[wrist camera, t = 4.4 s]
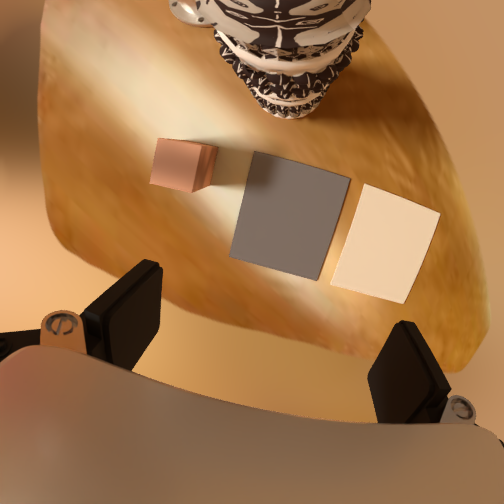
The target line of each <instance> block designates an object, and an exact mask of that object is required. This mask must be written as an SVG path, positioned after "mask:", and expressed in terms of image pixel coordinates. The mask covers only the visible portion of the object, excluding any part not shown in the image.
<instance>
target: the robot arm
mask: <svg viewBox="0 0 504 504" xmlns="http://www.w3.org/2000/svg"><path fill="white" fill-rule="evenodd" d="M169 6H170V9H171V11H172V13H173V14H174V15H175V16H176V18H178V19H179V20H180V21H181V22H184V23H186V24H188V25H192V26H196V27H213V26H212V25H211V24H210V23H209V22H208V21H207V20H206V19H205V17H204V16H203V15H202V14H201V13H200V12H199V11H198V10H197V6H196V2H195V0H169ZM202 21H203V22H202ZM162 277H163V268H162V267H159V263H158V262H154V261H151V260H147V259H144V260H142V261H141V262H140V263H139V264H137V265H136V266H135V267H134V268H132V269H131V270H130V271H129V272H128V273H126V274H125V275H124V276H123V277H122V278H120V279H119V280H118V281H117V282H116V283H115V284H113V285H112V286H111V287H110V288H109V289H107V290H106V291H105V292H104V293H103V294H102V295H100V296H99V297H98V298H97V299H96V300H95V301H93V302H92V303H91V304H90V305H89V306H88V307H87V308H86V309H85V310H84V312H82V313H81V314H80V315H78V314H76V313H74V312H71V311H67V310H66V311H65V310H60V311H55V312H52V313H50V314H48V315H47V316H45V318H44V319H43V320H42V323H41V329H36V330H26V331H16V332H5V333H0V504H504V443H503V442H502V441H501V440H500V439H498V438H497V436H496V435H495V434H494V433H492V432H491V431H489V430H487V429H485V428H482V427H480V426H478V425H477V424H475V419H476V411H475V408H474V407H473V405H472V404H471V402H470V401H469V400H467V399H466V398H464V397H462V396H459V395H454V396H451V397H450V398H449V399H448V397H447V395H448V393H449V392H450V391H451V387H450V385H449V383H448V381H447V379H446V377H445V375H444V374H443V372H442V370H441V368H440V366H439V364H438V362H437V361H436V359H435V357H434V355H433V353H432V352H431V350H430V348H429V346H428V345H427V343H426V341H425V339H424V338H423V336H422V334H421V333H420V331H419V329H418V328H417V326H416V324H415V323H414V322H409V321H404V320H401V321H400V322H399V323H396V324H395V325H394V327H393V329H392V331H391V333H390V335H389V337H388V339H387V341H386V342H385V344H384V346H383V348H382V350H381V352H380V353H379V355H378V357H377V359H376V360H375V362H374V364H373V365H372V368H371V369H370V371H369V373H368V378H367V379H368V383H369V387H370V391H371V395H372V399H373V404H374V408H375V412H376V416H377V421H378V423H365V422H349V421H339V420H329V419H320V418H312V417H305V416H298V415H291V414H285V413H279V412H274V411H269V410H263V409H258V408H254V407H249V406H244V405H240V404H235V403H231V402H227V401H223V400H219V399H215V398H212V397H208V396H204V395H201V394H197V393H193V392H190V391H187V390H184V389H181V388H177V387H174V386H171V385H168V384H165V383H162V382H159V381H156V380H154V379H151V378H148V377H145V376H143V375H140V374H137V373H135V372H132V369H133V368H134V366H135V365H136V363H137V362H138V360H139V359H140V357H141V356H142V354H143V353H144V351H145V349H146V348H147V347H148V345H149V344H150V342H151V341H152V340H153V338H154V336H155V335H156V334H157V332H158V330H159V325H160V309H161V292H162Z"/></svg>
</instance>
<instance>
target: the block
mask: <svg viewBox="0 0 504 504" xmlns="http://www.w3.org/2000/svg"><path fill="white" fill-rule="evenodd" d="M217 151H218V147H216V146H211V145H206V144H201V143H195V142H190V141H184V140H176V139H164V138H158V141H157V146H156V151H155V156H154V161H153V167H152V172H151V178H150V183H151V184H155V185H160V186H164V187H168V188H173V189H177V190H181V191H186V192H190V193H193V192H195V191H198V190H200V189H202V188H205V187H207V186H210V182H211V178H212V173H213V169H214V164H215V160H216V156H217Z"/></svg>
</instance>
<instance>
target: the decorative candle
mask: <svg viewBox="0 0 504 504" xmlns="http://www.w3.org/2000/svg"><path fill="white" fill-rule="evenodd" d="M195 2H196V6H197V10H198V11H199V12H200V13H201V14H202V15H203V16H204V17H205V19H206V20H207V21H208V22H209V23H210V24H211V25H212V26H213V27H214V28H215V30H214V37H215V39H216V41H217V42H219V43H221V45H222V46H221V48H220V55H221V56H222V57H223V58H224V59H225V61H226V62H227V63H229V64H233V65H232V68H233V69H234V71H235V73H236V74H237V76H238V77H239V78H241V79H243V80H244V82H245V84H246V85H247V87H248V88H249V90H250V91H251V94H252V95H253V97H254V98H256V100H257V102H258V104H259V105H260V106H261V107H262V108H263V109H264V110H265V111H267V112H269V113H270V114H272V115H274V116H275V117H280V118H285V119H294V118H300V117H303V116H305V115H307V114H308V113H310V112H312V111H313V110H314V109H315V108H316V107H318V105H319V104H320V101H321V99H322V98H323V97H324V95H325V94H326V92H327V89H328V88H329V86H330V84H331V83H332V82H333V81H334V80H336V79H337V78H338V76H339V72H341V71H342V70H343V69H344V68H345V67H347V66H348V65H349V64H350V62H351V59H352V57H351V52H356V51H357V50H358V48H359V41H358V40H359V39H360V38H362V37H363V32H364V31H363V29H362V28H361V27H360V26H359V23H360V22H363V21H364V17H365V16H366V15H367V13H368V12H369V11H370V8H371V0H195Z"/></svg>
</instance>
